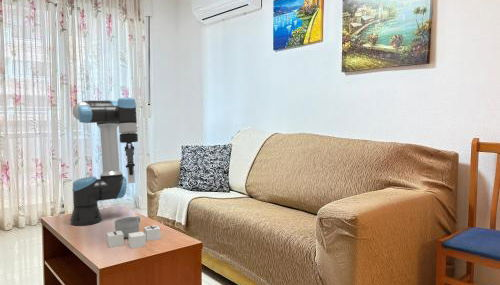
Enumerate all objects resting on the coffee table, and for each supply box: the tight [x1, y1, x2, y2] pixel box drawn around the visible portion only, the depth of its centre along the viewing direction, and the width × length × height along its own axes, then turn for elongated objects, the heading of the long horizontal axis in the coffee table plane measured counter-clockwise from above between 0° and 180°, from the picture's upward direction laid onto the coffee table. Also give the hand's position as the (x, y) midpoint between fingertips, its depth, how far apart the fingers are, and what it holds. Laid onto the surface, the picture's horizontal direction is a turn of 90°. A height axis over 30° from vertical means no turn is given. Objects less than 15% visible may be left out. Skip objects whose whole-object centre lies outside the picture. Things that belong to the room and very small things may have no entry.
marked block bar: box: [106, 230, 125, 248], centre depth 162 cm, size 6×6×5 cm
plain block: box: [128, 230, 147, 250], centre depth 160 cm, size 6×6×5 cm
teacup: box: [114, 215, 141, 239], centre depth 174 cm, size 14×11×8 cm
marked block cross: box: [143, 224, 162, 242], centre depth 169 cm, size 6×6×5 cm
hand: (131, 182), depth 162 cm, fingers open, 13 cm apart
